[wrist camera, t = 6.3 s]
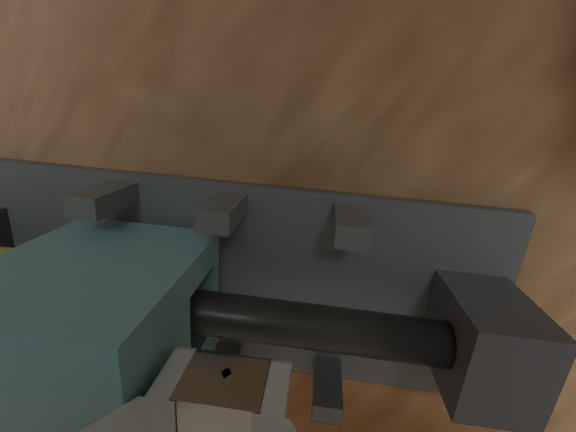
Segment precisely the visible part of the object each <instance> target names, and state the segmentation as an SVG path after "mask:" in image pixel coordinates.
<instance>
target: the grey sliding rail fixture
mask: <svg viewBox="0 0 576 432" xmlns="http://www.w3.org/2000/svg"><path fill="white" fill-rule="evenodd" d="M536 217H537V215H535V214H533V213H531V212H529V211H525V210H515V209H505V208H495V207H485V206H475V205H465V204H455V203H445V202H435V201H425V200H415V199H404V198H394V197H384V196H374V195H364V194H354V193H344V192H334V191H324V190H314V189H304V188H294V187H284V186H274V185H264V184H254V183H244V182H234V181H224V180H213V179H203V178H193V177H183V176H173V175H163V174H153V173H143V172H133V171H123V170H113V169H103V168H93V167H83V166H73V165H63V164H53V163H43V162H33V161H23V160H12V159H2V158H0V254H1V253H4V252H6V251H8V250H10V249H13V248H15V247H17V246H19V245H22V244H24V243H26V242H28V241H31V240H33V239H35V238H37V237H40V236H42V235H44V234H46V233H49V232H51V231H53V230H55V229H58V228H60V227H62V226H64V225H67V224H69V223H71V222H73V221H76V220H83V221H92V222H98V221H100V220H102V219H110V220H119V221H128V222H137V223H146V224H155V225H164V226H173V227H181V228H190V229H195V233H198V234H207V235H216V236H219V292H217V291H209V290H201V289H196V290H195V292H194V293H193V295H192V296H191V297H190V331H191V334H195V335H203V336H210V337H217V340H216V342H215V345H214V347H213V349H212V351H217V352H223V353H229V354H235V355H243V356H251V357H258V358H266V359H277V360H285V361H291V362H292V371H294V372H301V373H308V374H313V394H312V414H311V422H317V423H323V424H330V425H336V426H341V421H342V415H343V395H342V379H349V380H356V381H363V382H370V383H377V384H384V385H391V386H398V387H405V388H412V389H419V390H426V391H433V392H440V394H441V396H442V399H443V401H444V404H445V406H446V409H447V411H448V414H449V416H450V419H451V421H452V422H454V423H460V424H467V425H474V426H480V427H487V428H494V429H500V430H507V431H514V432H544V430H545V428H546V425H547V423H548V421H549V418H550V416H551V414H552V411H553V409H554V406H555V404H556V402H557V399H558V397H559V395H560V392H561V390H562V388H563V385H564V383H565V380H566V378H567V376H568V373H569V371H570V369H571V366H572V364H573V362H574V359H575V357H576V341H575V340H574V339H573V338H572V337H571V336H570V335H569V334H568V333H566V332H565V331H564V330H563V329H562V328H561V327H560V326H559V325H558V324H557V323H556V322H555V321H554V320H552V319H551V318H550V317H549V316H548V315H547V314H546V313H545V312H544V311H543V310H542V309H541V308H540V307H538V306H537V305H536V304H535V303H534V302H533V301H532V300H531V299H530V298H529V297H528V296H527V295H526V294H525V293H523V292H522V291H521V290H520V289H519V288H518V287H517V286H516V285H515V281H516V278H517V275H518V272H519V269H520V266H521V263H522V260H523V257H524V254H525V251H526V247H527V244H528V241H529V238H530V235H531V232H532V229H533V226H534V223H535V220H536Z"/></svg>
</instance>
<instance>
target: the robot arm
mask: <svg viewBox="0 0 576 432" xmlns="http://www.w3.org/2000/svg"><path fill="white" fill-rule="evenodd" d="M291 371H292V362H291V361H285V360H277V359H266V358H258V357H251V356H243V355H235V354H229V353H223V352H217V351H211V350H204V349H196V348H190V347H184V346H178V347H177V348H176V349H175V350H174V351H173V353H172V354H171V356H170V357H169V359H168V360H167V362H166V364H165V365H164V367H163V368H162V370H161V371H160V373H159V375H158V376H157V378H156V379H155V381H154V382H153V384H152V386H151V387H150V389H149V390H148V392H147V393H146V395H145V396H144V397H142V396H137V397H136V398H134V399H132V400H131V401H129V402H127V403H126V404H124V405H122V406H121V407H119V408H117V409H116V410H114V411H112V412H111V413H109V414H107V415H106V416H104V417H103V418H101V419H99V420H98V421H96V422H94V423H93V424H91V425H89V426H88V427H86V428H84V429H83V430H81V431H79V432H298V431H297V429H296V427H295V426H294V424H293V422H292V420H291V419H287V413H288V402H289V392H290V381H291Z"/></svg>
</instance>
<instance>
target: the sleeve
mask: <svg viewBox="0 0 576 432" xmlns="http://www.w3.org/2000/svg"><path fill="white" fill-rule="evenodd" d="M196 289H201V290H209V291H217V292H219V236H216V235H207V234H198V233H195V229H190V228H181V227H173V226H164V225H155V224H146V223H137V222H128V221H119V220H110V219H102V220H100V221H98V222H92V221H83V220H76V221H73V222H71V223H69V224H67V225H64V226H62V227H60V228H58V229H55V230H53V231H51V232H49V233H46V234H44V235H42V236H40V237H37V238H35V239H33V240H31V241H28V242H26V243H24V244H22V245H19V246H17V247H15V248H13V249H10V250H8V251H6V252H4V253H1V254H0V432H79V431H81V430H83V429H84V428H86V427H88V426H89V425H91V424H93V423H94V422H96V421H98V420H99V419H101V418H103V417H104V416H106V415H107V414H109V413H111V412H112V411H114V410H116V409H117V408H119V407H121V406H122V405H124V404H126V403H127V402H129V401H131V400H132V399H134V398H136V397H137V396H142V397H144V396H145V395H146V393H147V392H148V390H149V389H150V387H151V386H152V384H153V382H154V381H155V379H156V378H157V376H158V375H159V373H160V371H161V370H162V368H163V367H164V365H165V364H166V362H167V360H168V359H169V357H170V356H171V354H172V353H173V351H174V350H175V349H176V348H177V347H178V346H184V347H190V348H196V349H204V350H211V351H212V349H213V347H214V345H215V342H216V340H217V337H210V336H203V335H195V334H191V331H190V297H191V296H192V295H193V293H194V292H195V290H196Z"/></svg>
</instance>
